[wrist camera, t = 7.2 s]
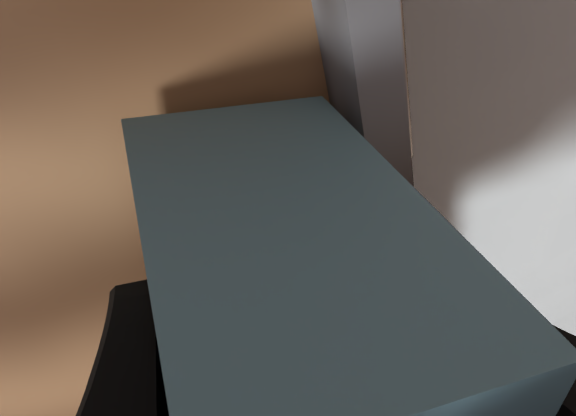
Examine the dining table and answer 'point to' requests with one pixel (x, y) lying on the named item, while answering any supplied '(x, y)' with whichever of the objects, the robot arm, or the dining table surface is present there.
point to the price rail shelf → (112, 152)
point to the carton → (321, 278)
